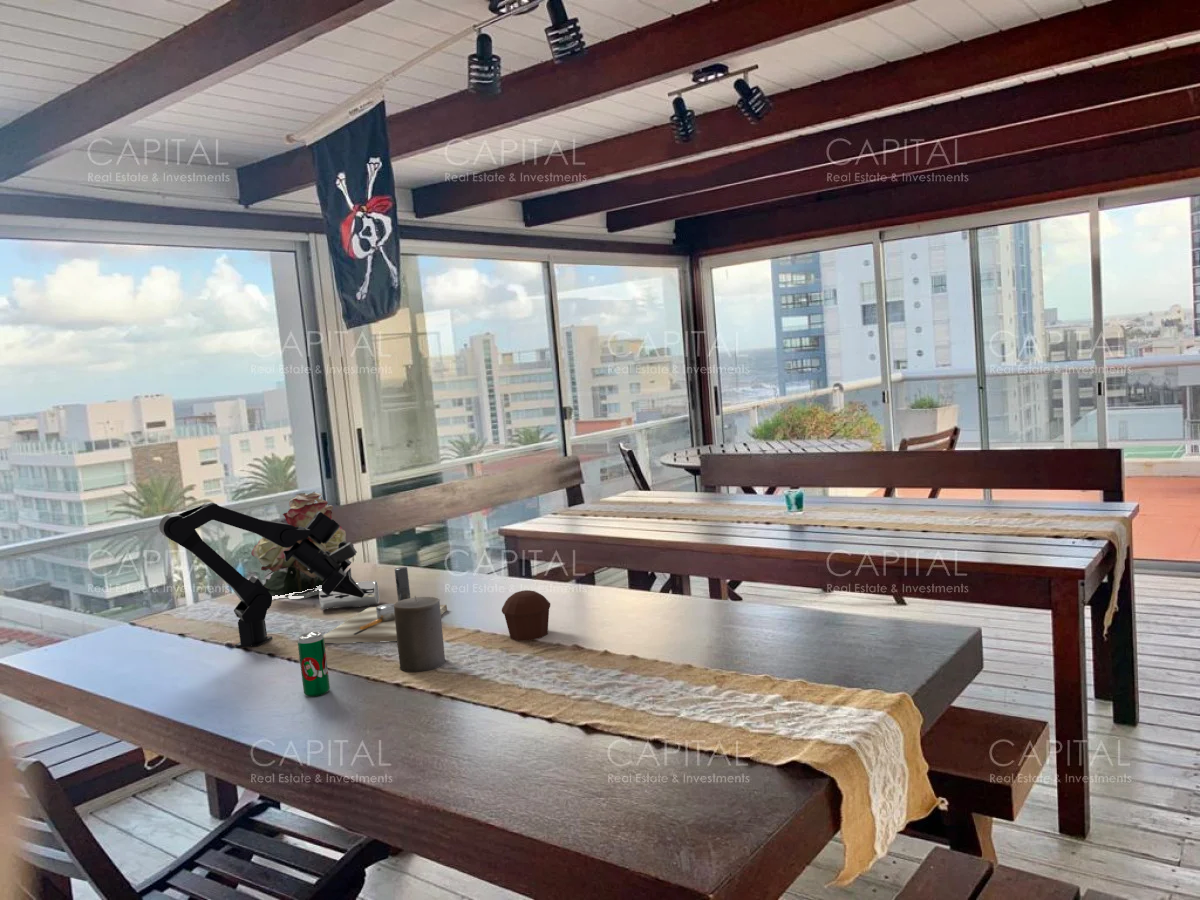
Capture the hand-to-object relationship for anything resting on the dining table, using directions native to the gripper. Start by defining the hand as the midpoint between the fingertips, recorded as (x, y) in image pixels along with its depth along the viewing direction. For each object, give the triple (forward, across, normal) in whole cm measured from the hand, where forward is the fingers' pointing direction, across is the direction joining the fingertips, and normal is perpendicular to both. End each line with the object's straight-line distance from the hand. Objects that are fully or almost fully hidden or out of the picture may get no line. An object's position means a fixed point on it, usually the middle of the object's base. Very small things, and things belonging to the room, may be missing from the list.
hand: (363, 595), depth 231 cm
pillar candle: (+16, -42, -6) cm, 45 cm away
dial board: (+9, -7, +1) cm, 11 cm away
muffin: (+32, -31, -23) cm, 50 cm away
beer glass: (-7, +19, +12) cm, 24 cm away
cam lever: (+8, -6, 0) cm, 10 cm away
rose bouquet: (-8, +46, +19) cm, 50 cm away
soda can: (+1, -51, +9) cm, 52 cm away
